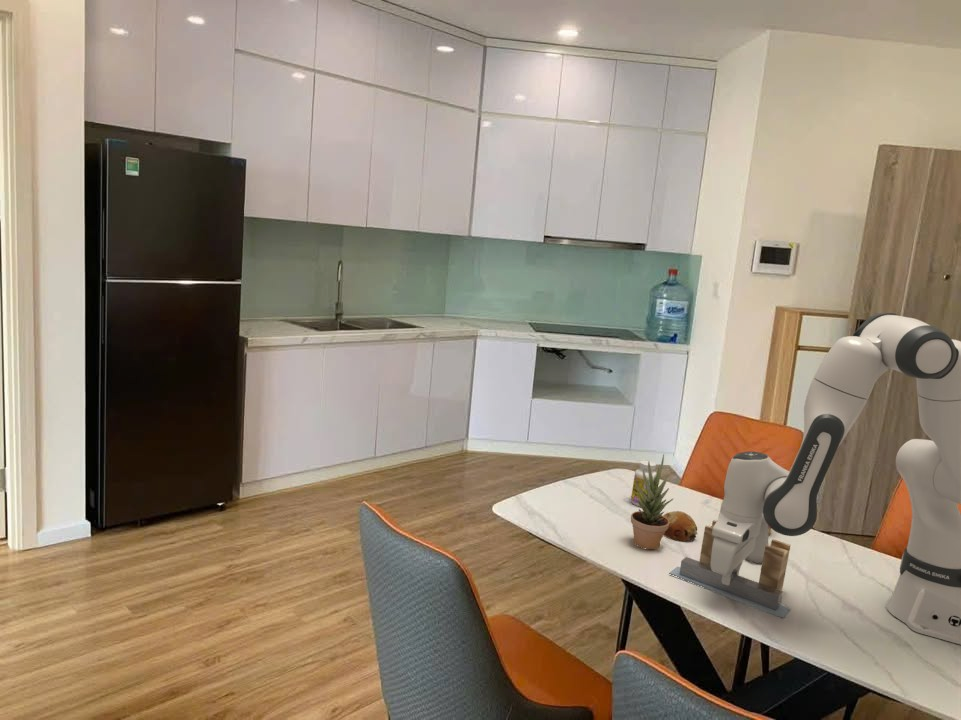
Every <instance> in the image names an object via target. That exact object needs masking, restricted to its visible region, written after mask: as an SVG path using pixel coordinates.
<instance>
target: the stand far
mask: <svg viewBox="0 0 961 720" xmlns="http://www.w3.org/2000/svg"><path fill="white" fill-rule="evenodd" d="M716 522H717V520H712V523H711V525H705V526H704V531H703V536H702V544H701V550H700V555H699V560H698V561H699V562H702V563H705V564H708V565H710V566H711V553H712V545H713V540H714V538H715V536H714V535H712V530H713V527H714V525H715V523H716Z"/></svg>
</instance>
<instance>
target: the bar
mask: <svg viewBox="0 0 961 720" xmlns="http://www.w3.org/2000/svg"><path fill="white" fill-rule="evenodd" d="M699 561H700V560H696V559H693V558H691V557H688V556H685V557H684V558H683V559H681V562H680V566H679V567H680V573H679V575H682V576H685V577H687V578H690V579H692V580H695V581H698V582H700V583H703V584H706V585H708V586H711V587H714V588H716V589H719V590H722V591H724V592H727V593H730V594H732V595H735V596H738V597H740V598H743V599H746V600H748V601H751V602H754V603H756V604H759V605H762V606H764V607H767V608H770V609H772V610H775V611H776V610H777V609H778V608H779V607H780V604H781V603H782V602H781V601H782V597H783V596H782V595H783V590H782V591H780V590H777V589H775V588H772V587H769V586H766V585H763V584H761V583H759V581H755V580H752V579H749V578H746V577H744V576H741V575H736V574H733V573H732V575H731V576H732V582H731V583H730V584H729V585H725V584H723V583H722V582H721V581H722V575H721V574H718V573H715V572H713V571H712V570H711V566H710V565H708V564H705V563H702V562H699Z"/></svg>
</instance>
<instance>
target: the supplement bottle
mask: <svg viewBox="0 0 961 720" xmlns="http://www.w3.org/2000/svg"><path fill="white" fill-rule="evenodd" d="M648 461H649V463H650V467H651V472H652V476H653V482H654V477H656V476H655V474H657V471H655V470H656V469H657V468H656V467H657V464H656V462H654V461H652V460H640V461H639V465H638V466H639V468H638V469H636V470H635V471H634V477H633V485H632V490H631V497H630V503H631V504H633V505H634V506H636V507H639V508H641V507H640V505H639V504H638V502H637V501H636V500H638V501H639V500H640V497H639V495H638V493H637V490H636V487H637V489H638V486H637V484H638V485H639V487H640V488H641V489H642V490H643V492H644V491H645V493H646V495H647V491H646V487H645V483H644V478H643V470H644V473H645V475H646V478H647V481H648V483H649V473H648ZM649 486H650V483H649ZM638 491H639V489H638ZM639 493H640V491H639ZM640 495H641V493H640ZM641 497H642V495H641ZM642 499H643V500H644V498H643V497H642ZM640 501H641V500H640ZM644 501H645V500H644Z"/></svg>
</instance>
